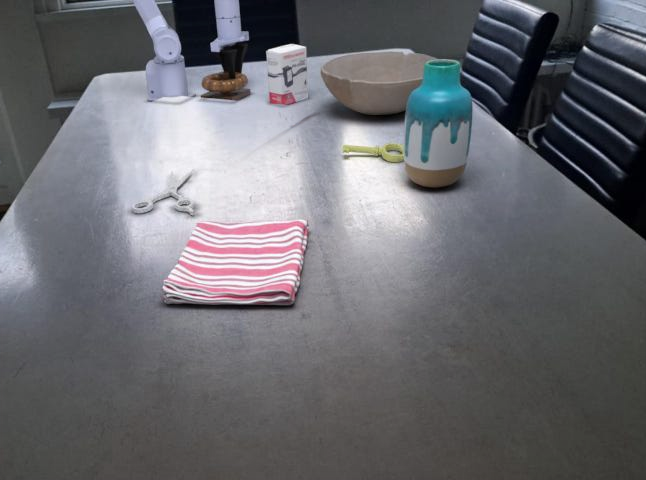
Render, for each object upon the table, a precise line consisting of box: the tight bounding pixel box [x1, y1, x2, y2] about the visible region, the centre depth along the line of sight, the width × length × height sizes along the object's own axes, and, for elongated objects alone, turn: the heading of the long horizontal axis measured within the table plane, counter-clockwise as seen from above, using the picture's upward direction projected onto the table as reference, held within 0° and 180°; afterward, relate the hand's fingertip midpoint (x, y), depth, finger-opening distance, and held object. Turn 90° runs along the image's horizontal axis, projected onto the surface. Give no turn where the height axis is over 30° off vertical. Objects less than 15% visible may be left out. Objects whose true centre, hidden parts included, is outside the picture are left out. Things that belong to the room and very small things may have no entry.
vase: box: [403, 58, 473, 188], centre depth 110 cm, size 11×11×19 cm
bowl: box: [320, 51, 438, 116], centre depth 149 cm, size 26×26×10 cm
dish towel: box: [161, 218, 310, 306], centre depth 93 cm, size 17×23×4 cm
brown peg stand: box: [199, 71, 252, 101], centre depth 168 cm, size 9×9×6 cm
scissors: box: [131, 170, 195, 216], centre depth 117 cm, size 11×1×20 cm
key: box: [342, 142, 404, 163], centre depth 127 cm, size 7×12×2 cm, turn 102°
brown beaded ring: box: [201, 72, 249, 92], centre depth 167 cm, size 11×11×3 cm
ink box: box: [265, 43, 309, 106], centre depth 160 cm, size 8×5×12 cm, turn 134°
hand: (233, 77), depth 170 cm, fingers closed on brown beaded ring, 3 cm apart
